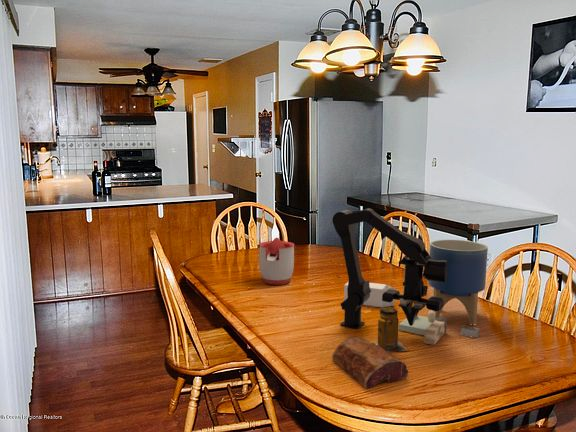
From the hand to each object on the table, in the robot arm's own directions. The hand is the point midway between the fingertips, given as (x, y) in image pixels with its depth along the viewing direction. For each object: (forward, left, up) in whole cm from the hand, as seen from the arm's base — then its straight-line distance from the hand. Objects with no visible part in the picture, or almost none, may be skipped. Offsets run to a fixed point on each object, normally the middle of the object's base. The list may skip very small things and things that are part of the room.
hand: (411, 325), depth 167 cm
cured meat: (-28, +3, -4) cm, 28 cm away
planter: (+25, -7, -4) cm, 27 cm away
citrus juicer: (+27, +71, -4) cm, 76 cm away
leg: (+2, -8, -3) cm, 8 cm away
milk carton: (+22, +34, 0) cm, 40 cm away
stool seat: (+8, 0, -3) cm, 9 cm away
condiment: (-13, +2, -4) cm, 14 cm away
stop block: (+10, -16, -3) cm, 20 cm away
